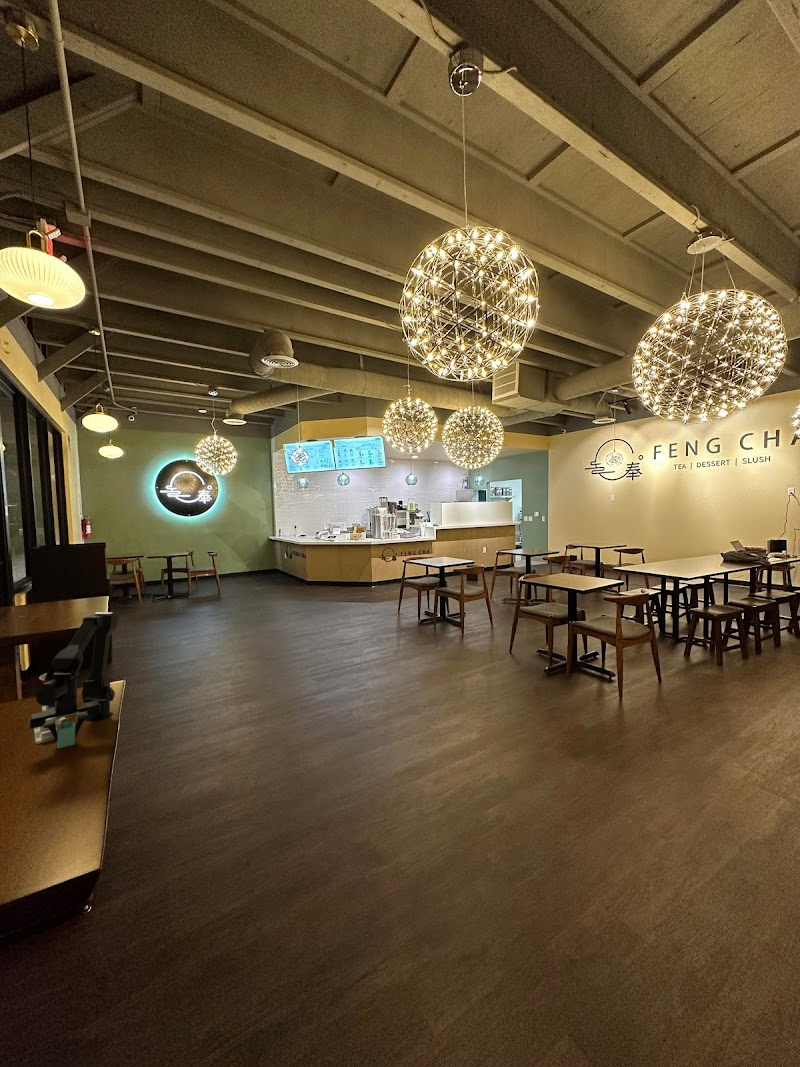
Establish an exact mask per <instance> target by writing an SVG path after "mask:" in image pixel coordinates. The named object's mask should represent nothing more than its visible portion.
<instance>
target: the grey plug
mask: <svg viewBox="0 0 800 1067" xmlns="http://www.w3.org/2000/svg"><path fill="white" fill-rule="evenodd" d="M41 712H45V715H48V714H52V713H55V711H54V707H48V706H43V705H41ZM58 719H59V718H58ZM58 719H55V720H58Z"/></svg>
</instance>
